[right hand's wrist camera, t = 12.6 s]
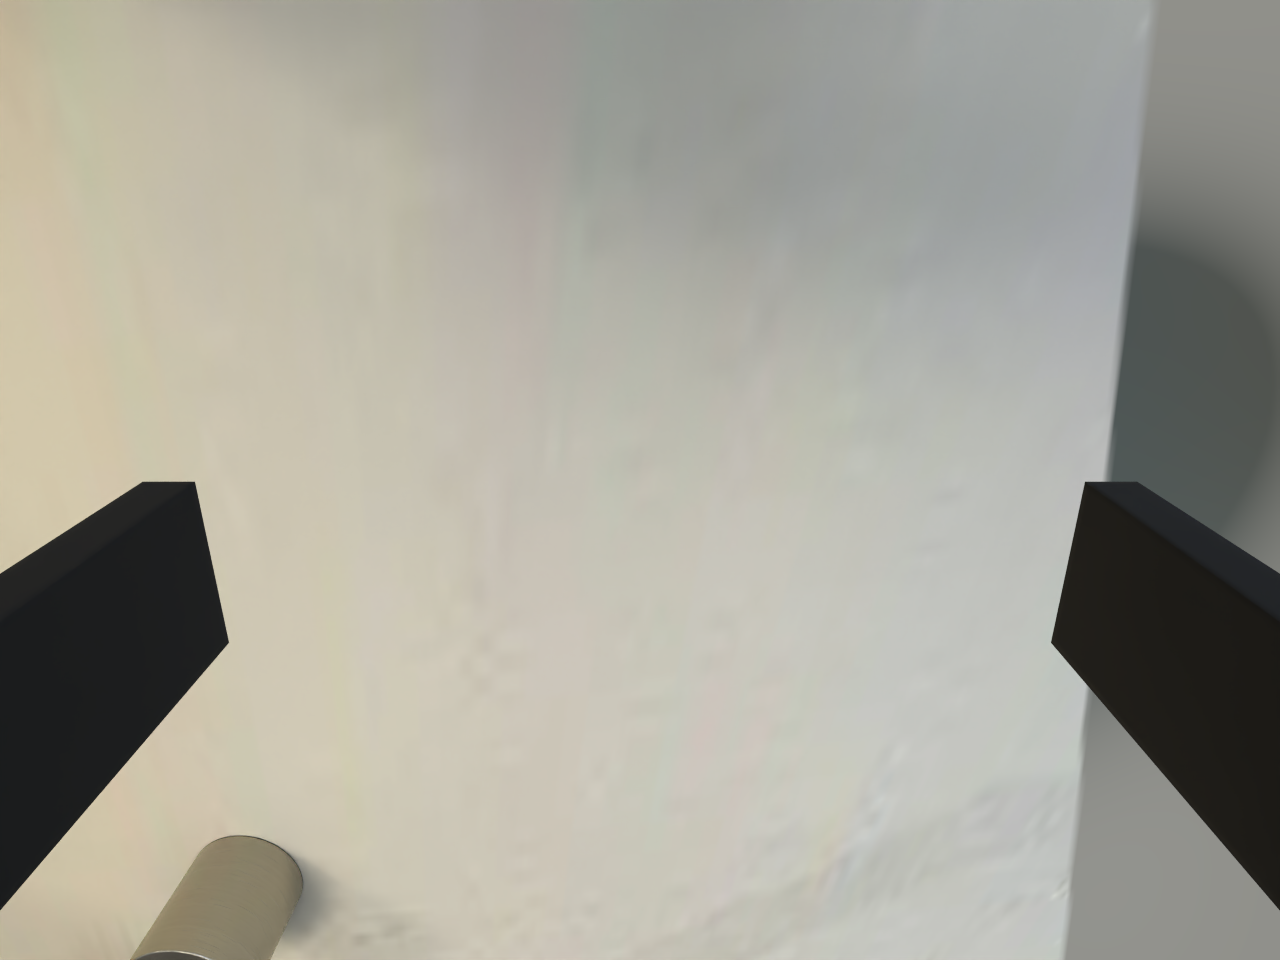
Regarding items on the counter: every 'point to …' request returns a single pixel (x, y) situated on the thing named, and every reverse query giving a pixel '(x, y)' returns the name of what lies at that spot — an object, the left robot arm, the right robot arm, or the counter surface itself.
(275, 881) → the tin
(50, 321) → the counter surface
